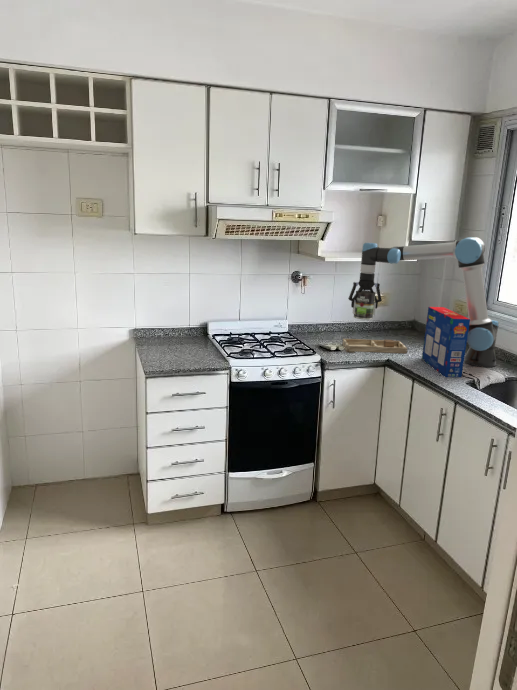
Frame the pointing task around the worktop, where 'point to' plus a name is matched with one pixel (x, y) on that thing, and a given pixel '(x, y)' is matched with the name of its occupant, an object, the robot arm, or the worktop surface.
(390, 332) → the worktop surface
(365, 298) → the coffee can
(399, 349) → the wooden organizer
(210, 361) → the worktop surface
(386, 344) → the walnut cube
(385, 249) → the robot arm
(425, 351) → the blue cardboard box
